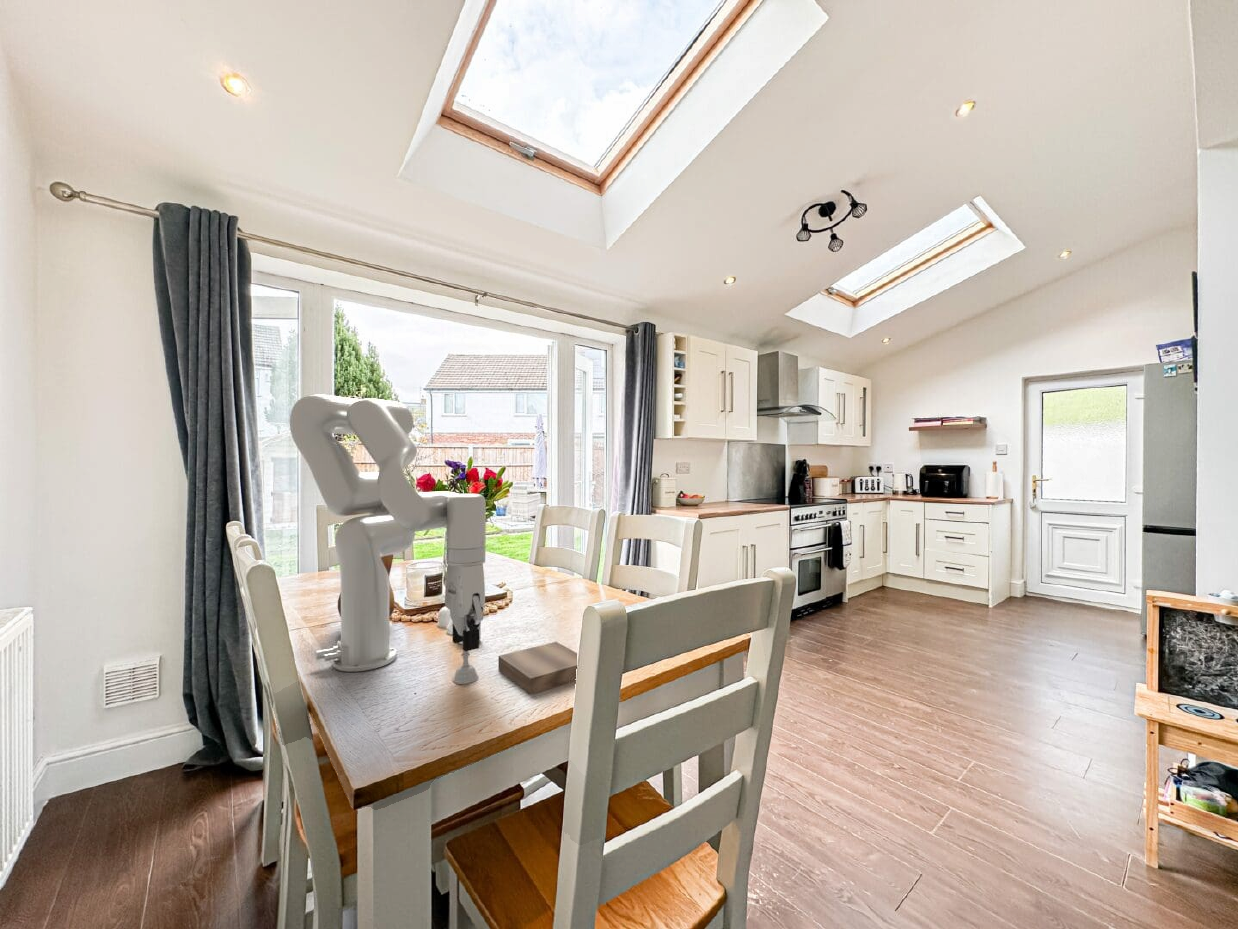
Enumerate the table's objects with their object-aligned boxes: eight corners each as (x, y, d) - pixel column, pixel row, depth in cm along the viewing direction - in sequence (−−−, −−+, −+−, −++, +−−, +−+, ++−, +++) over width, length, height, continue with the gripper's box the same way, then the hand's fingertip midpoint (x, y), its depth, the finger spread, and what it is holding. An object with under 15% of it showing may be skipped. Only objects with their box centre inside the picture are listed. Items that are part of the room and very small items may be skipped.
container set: (481, 641, 127) (481, 619, 127) (459, 646, 124) (459, 623, 124) (454, 620, 143) (454, 600, 143) (434, 624, 140) (434, 603, 140)
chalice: (462, 689, 100) (463, 596, 100) (439, 681, 104) (439, 591, 103) (491, 676, 106) (491, 588, 106) (467, 668, 110) (468, 583, 110)
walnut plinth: (530, 694, 98) (530, 678, 98) (498, 670, 109) (498, 655, 109) (591, 675, 107) (591, 661, 107) (556, 654, 118) (556, 641, 118)
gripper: (433, 551, 109) (432, 637, 109) (464, 564, 96) (463, 663, 96) (468, 547, 114) (467, 630, 114) (501, 560, 100) (501, 654, 100)
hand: (465, 644), depth 105 cm, fingers closed on chalice, 4 cm apart
